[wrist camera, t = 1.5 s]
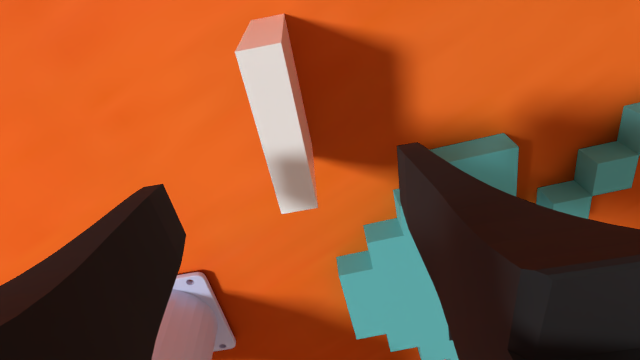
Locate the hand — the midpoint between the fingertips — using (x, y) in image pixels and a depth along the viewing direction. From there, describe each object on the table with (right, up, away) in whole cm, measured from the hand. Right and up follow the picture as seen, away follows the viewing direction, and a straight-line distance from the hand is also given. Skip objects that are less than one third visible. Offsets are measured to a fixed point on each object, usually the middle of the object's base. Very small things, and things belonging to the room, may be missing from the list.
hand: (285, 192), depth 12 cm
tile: (-1, +5, +8) cm, 10 cm away
